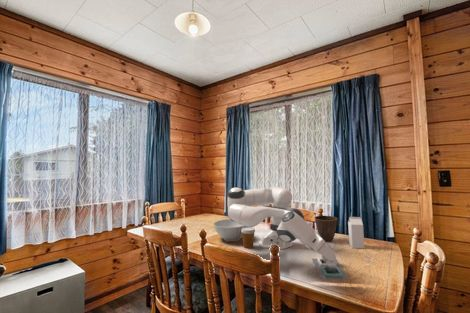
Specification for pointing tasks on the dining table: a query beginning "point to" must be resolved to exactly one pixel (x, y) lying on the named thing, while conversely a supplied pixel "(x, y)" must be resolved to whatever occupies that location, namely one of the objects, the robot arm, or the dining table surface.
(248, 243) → the disposable coffee cup
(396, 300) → the dining table surface
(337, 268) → the grey flat plate
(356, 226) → the milk carton
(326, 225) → the plant pot
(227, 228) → the decorative bowl
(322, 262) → the grey tall round-topped piece
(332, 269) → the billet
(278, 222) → the robot arm
